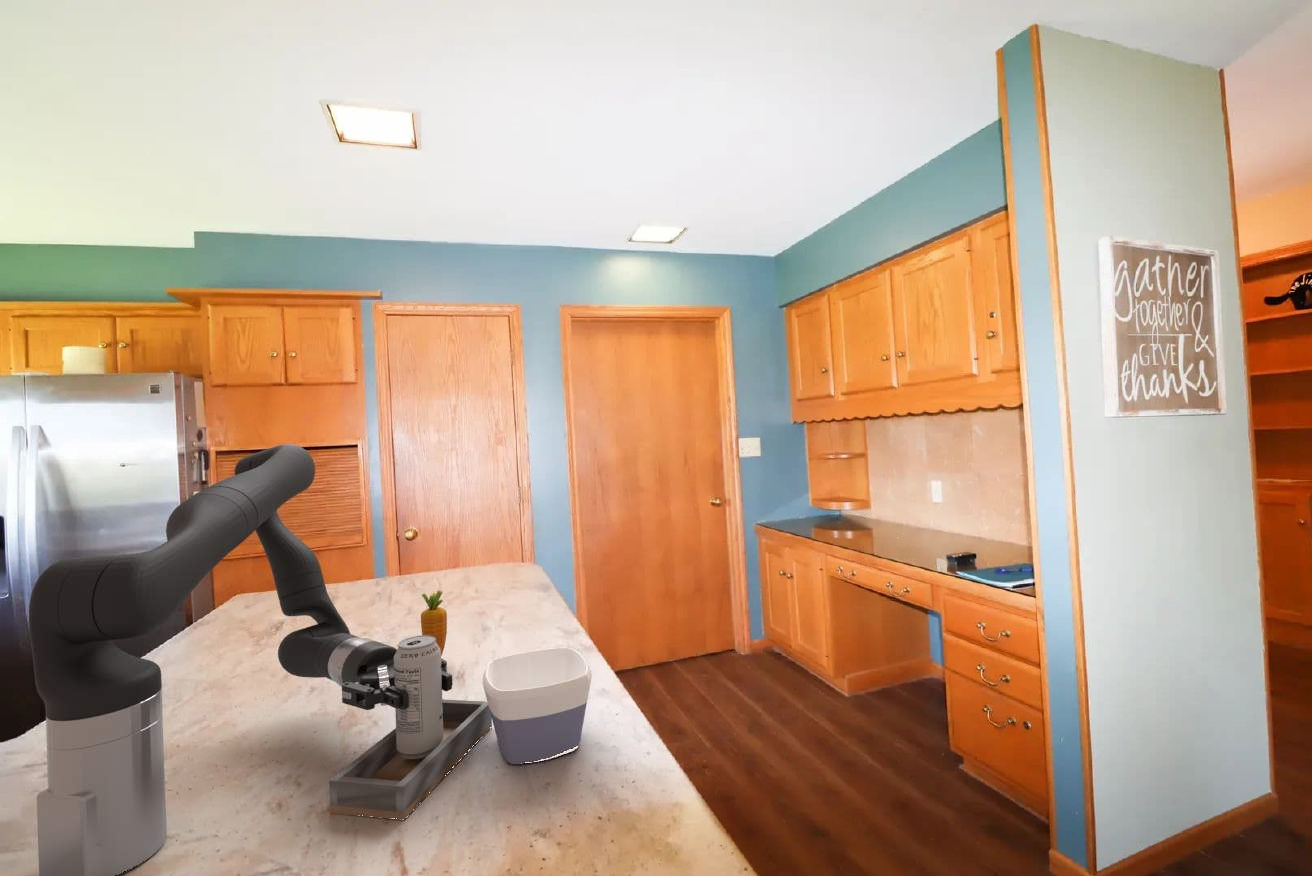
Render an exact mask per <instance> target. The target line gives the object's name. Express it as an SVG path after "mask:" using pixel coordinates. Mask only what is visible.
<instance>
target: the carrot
mask: <svg viewBox="0 0 1312 876" xmlns="http://www.w3.org/2000/svg"><path fill="white" fill-rule="evenodd" d="M442 595H443V591H442V590H440V589H438V590H437V591H436V593H435V592H433V594H430V596H429V597H428V596H427V594H426V593H422V594H421V596H422V598H423V600H424V601H425V603H426V604H427V606H428V608H426V609H425V610H423V611H422V612H421V614H420V628H421V635H429V636H434V637H435V638H436V643H437V645H438V646H439V647H440V649H441V657H442V656H443V652H444V650H445V645H446V640H447V634H448V633H447V632H448V631H447V629H448V628H447V627H448V615H447V610H446V609H445V608H443V607H442V606H440V605H441V603H443V602H444V600H443V599H440V598H441V596H442Z"/></svg>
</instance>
